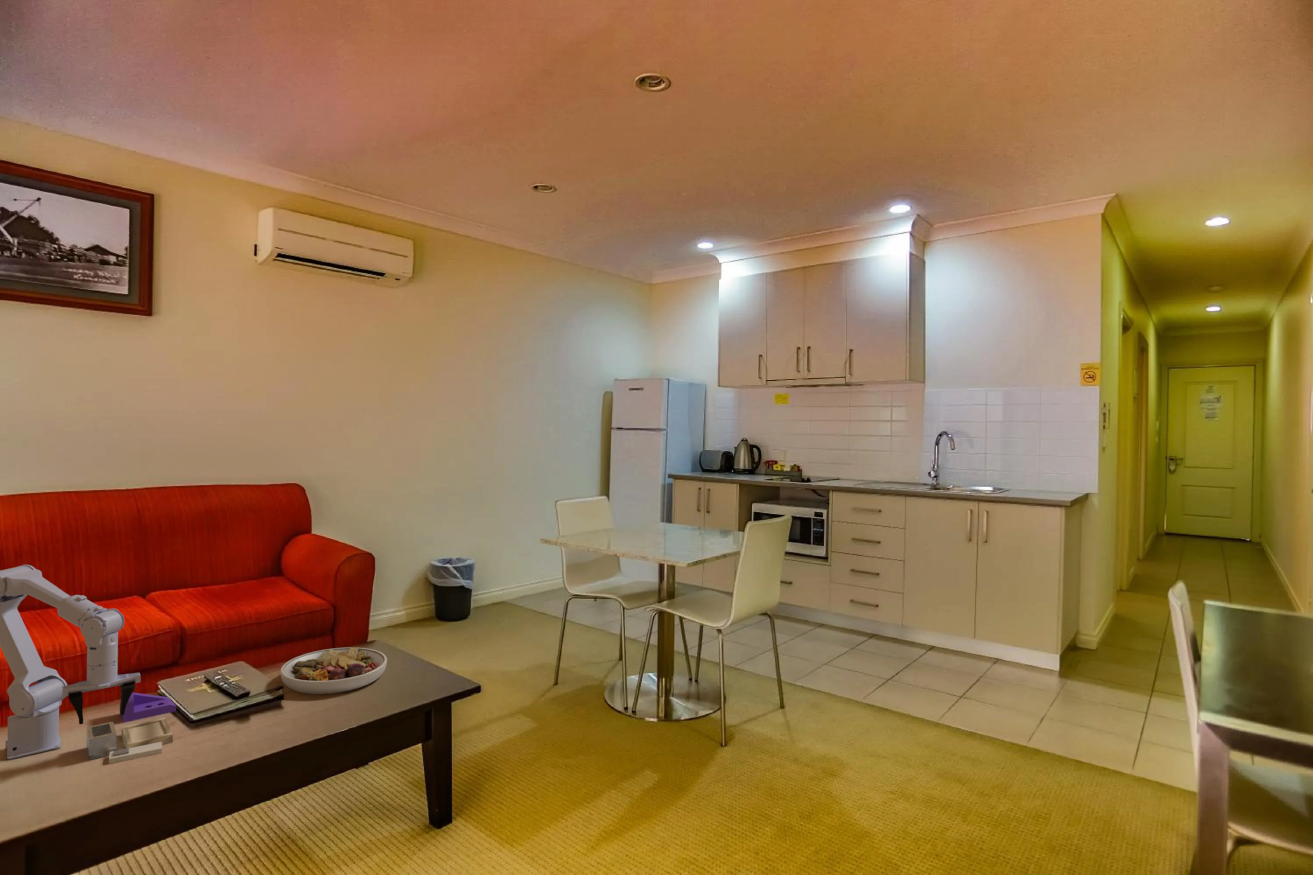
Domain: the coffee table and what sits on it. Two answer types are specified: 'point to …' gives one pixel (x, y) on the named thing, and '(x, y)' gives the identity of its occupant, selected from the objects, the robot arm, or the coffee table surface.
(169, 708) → the bracket
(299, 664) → the bowl
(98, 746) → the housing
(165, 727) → the beige shallow tray
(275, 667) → the coffee table surface
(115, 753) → the block
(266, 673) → the coffee table surface
